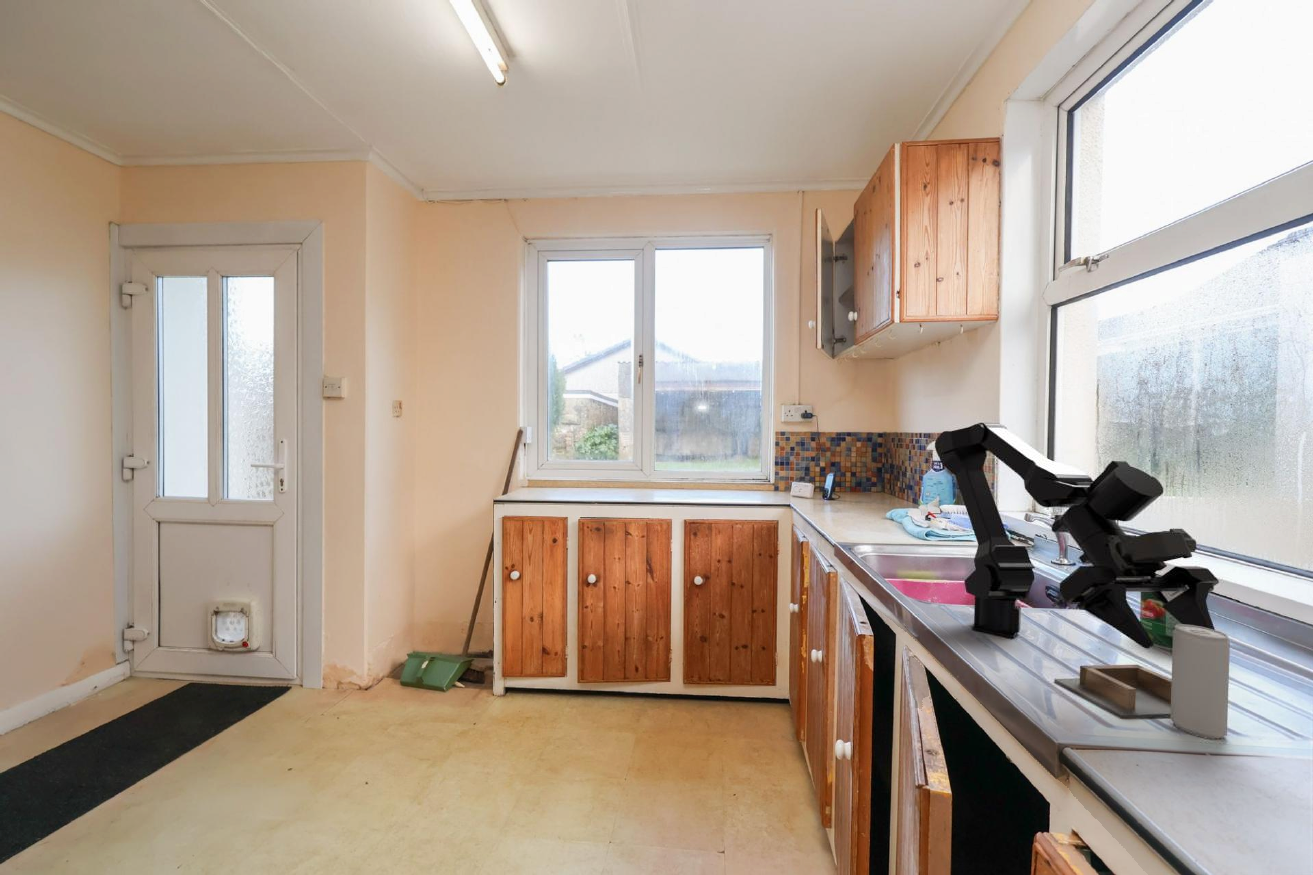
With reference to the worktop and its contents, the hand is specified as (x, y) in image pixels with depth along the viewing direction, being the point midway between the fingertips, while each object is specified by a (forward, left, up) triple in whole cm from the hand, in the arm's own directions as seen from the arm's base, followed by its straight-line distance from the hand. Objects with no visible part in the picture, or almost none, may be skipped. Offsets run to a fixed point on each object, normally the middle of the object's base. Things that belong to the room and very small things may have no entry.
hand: (1183, 646), depth 67 cm
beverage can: (+1, -1, -9) cm, 10 cm away
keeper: (-4, +4, -9) cm, 11 cm away
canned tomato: (+1, +36, -10) cm, 37 cm away
